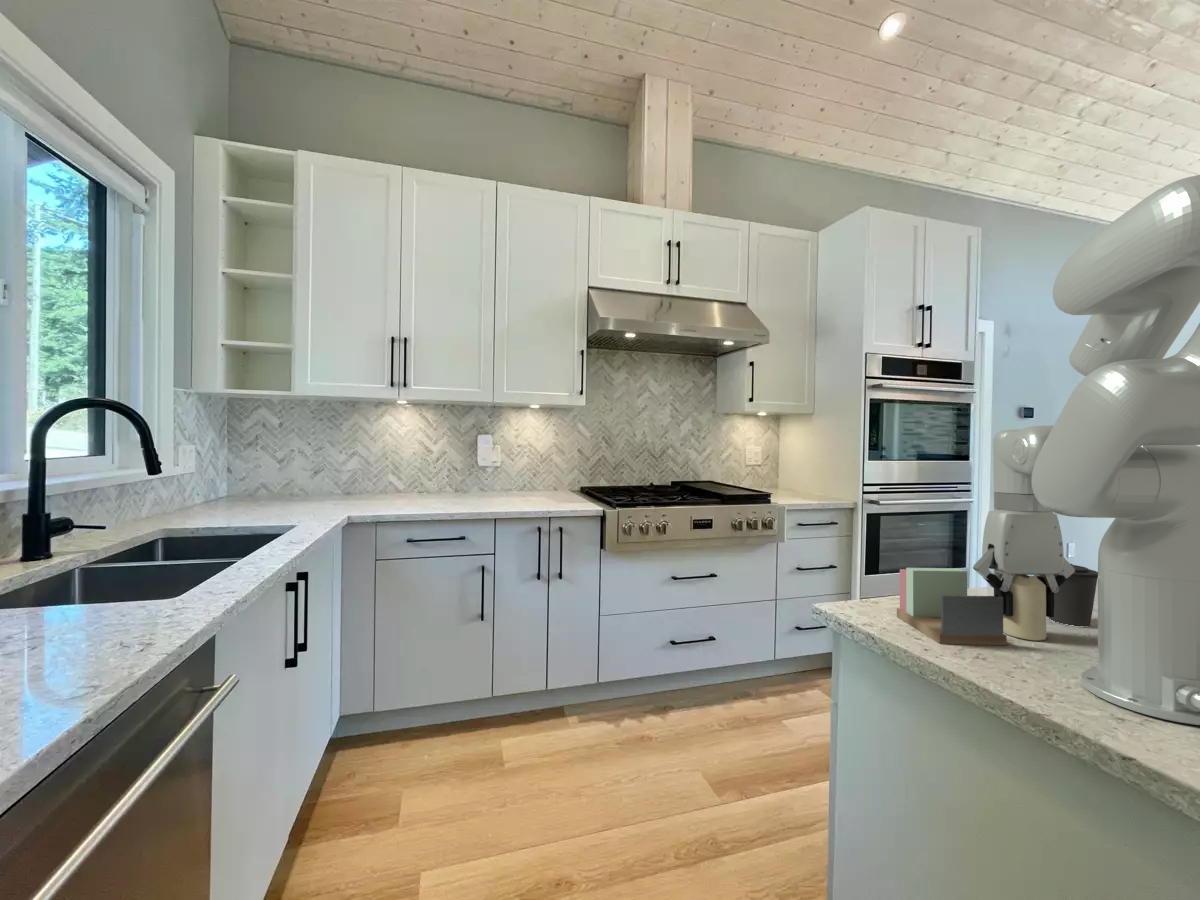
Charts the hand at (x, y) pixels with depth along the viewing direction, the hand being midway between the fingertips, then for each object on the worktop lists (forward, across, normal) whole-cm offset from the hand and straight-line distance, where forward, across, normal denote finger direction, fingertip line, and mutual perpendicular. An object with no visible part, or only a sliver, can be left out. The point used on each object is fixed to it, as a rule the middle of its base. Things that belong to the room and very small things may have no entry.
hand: (1023, 613), depth 83 cm
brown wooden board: (+4, +11, -2) cm, 12 cm away
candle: (+4, 0, 0) cm, 4 cm away
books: (+2, +11, -6) cm, 13 cm away
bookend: (+2, +11, +4) cm, 12 cm away
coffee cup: (+4, -13, -7) cm, 15 cm away
